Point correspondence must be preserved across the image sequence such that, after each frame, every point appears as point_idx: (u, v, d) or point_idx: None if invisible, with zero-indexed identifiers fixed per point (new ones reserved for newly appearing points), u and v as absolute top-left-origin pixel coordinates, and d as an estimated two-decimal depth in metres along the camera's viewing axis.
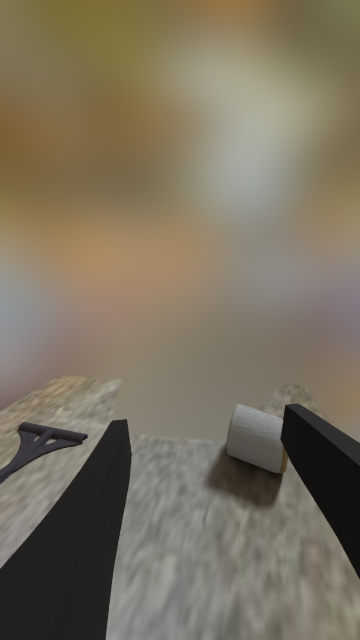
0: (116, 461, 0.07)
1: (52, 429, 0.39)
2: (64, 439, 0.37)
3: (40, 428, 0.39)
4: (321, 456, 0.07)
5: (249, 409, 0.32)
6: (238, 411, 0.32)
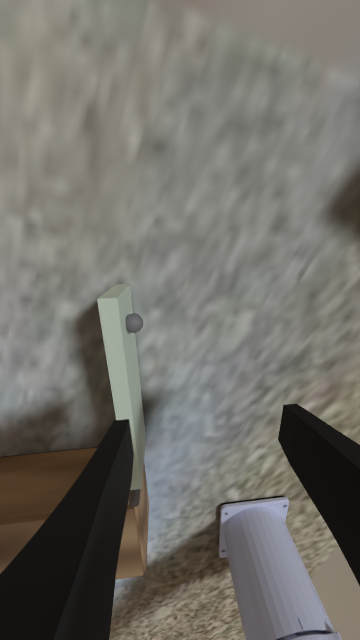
0: (119, 461, 0.07)
1: None
2: None
3: None
4: (319, 456, 0.07)
5: None
6: None
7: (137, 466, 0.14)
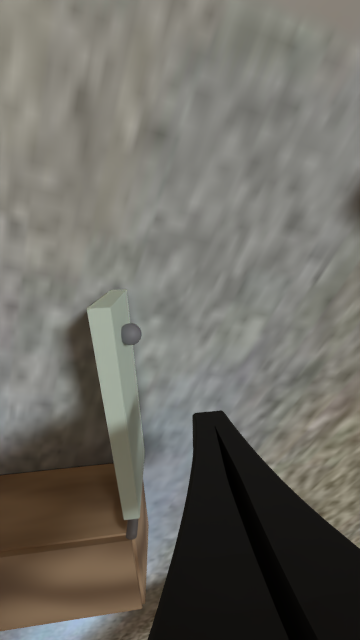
0: None
1: None
2: None
3: None
4: (225, 467, 0.07)
5: None
6: None
7: (135, 494, 0.13)
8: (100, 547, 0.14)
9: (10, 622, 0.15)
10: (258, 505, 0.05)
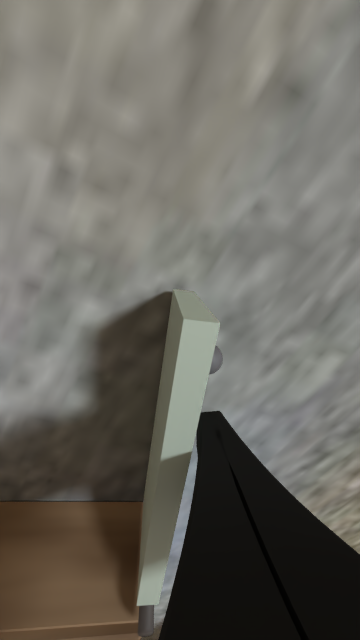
0: None
1: None
2: None
3: None
4: None
5: None
6: None
7: (162, 576, 0.09)
8: (96, 639, 0.10)
9: None
10: (253, 506, 0.05)
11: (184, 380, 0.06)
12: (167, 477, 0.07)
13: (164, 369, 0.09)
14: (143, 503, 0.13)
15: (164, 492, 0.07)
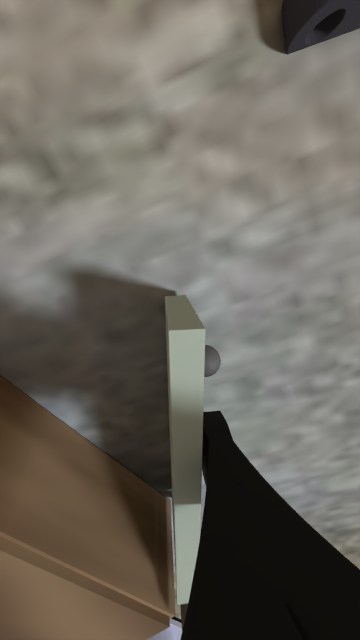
0: None
1: None
2: None
3: None
4: None
5: None
6: None
7: None
8: (136, 617, 0.09)
9: None
10: (241, 507, 0.05)
11: (181, 388, 0.06)
12: (183, 481, 0.07)
13: None
14: None
15: (183, 496, 0.08)
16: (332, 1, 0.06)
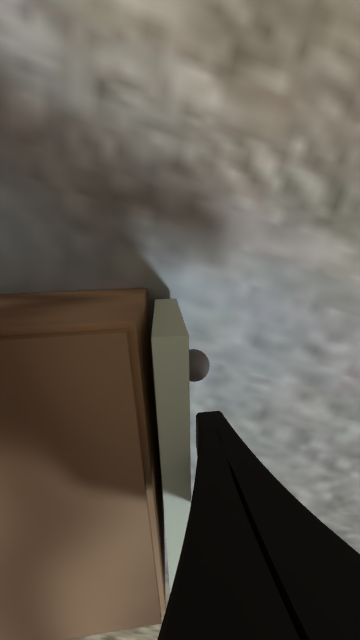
0: None
1: None
2: None
3: None
4: None
5: None
6: None
7: None
8: (151, 603, 0.09)
9: None
10: (253, 506, 0.05)
11: (166, 394, 0.06)
12: (172, 487, 0.07)
13: None
14: None
15: (172, 501, 0.08)
16: None
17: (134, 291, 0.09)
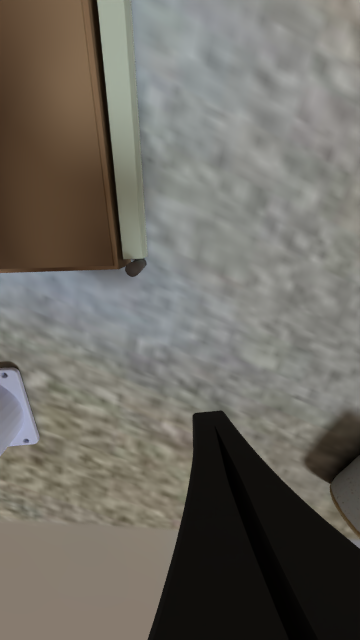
0: None
1: None
2: None
3: None
4: (225, 467, 0.07)
5: None
6: None
7: (137, 211, 0.10)
8: (101, 224, 0.10)
9: None
10: (258, 505, 0.05)
11: None
12: (110, 44, 0.08)
13: None
14: None
15: (112, 69, 0.09)
16: None
17: None
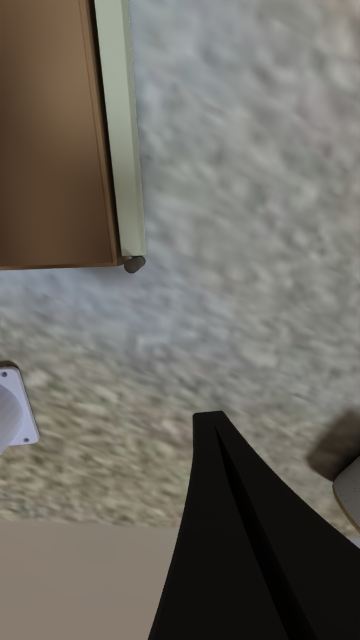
0: None
1: None
2: None
3: None
4: (225, 467, 0.07)
5: None
6: None
7: (135, 208, 0.10)
8: (99, 220, 0.10)
9: None
10: (258, 505, 0.05)
11: None
12: (107, 40, 0.08)
13: None
14: None
15: (109, 65, 0.09)
16: None
17: None
